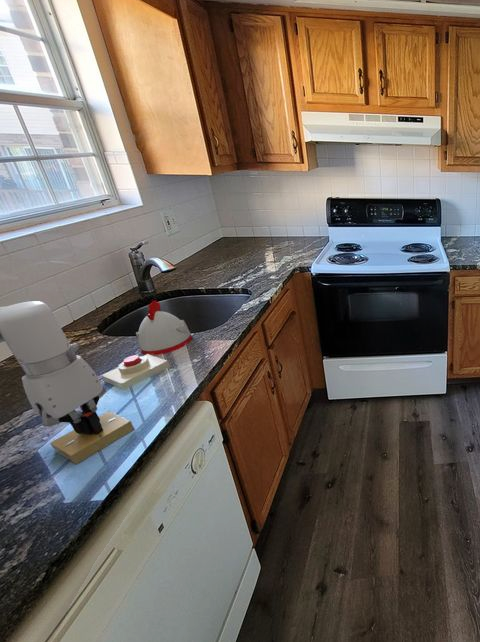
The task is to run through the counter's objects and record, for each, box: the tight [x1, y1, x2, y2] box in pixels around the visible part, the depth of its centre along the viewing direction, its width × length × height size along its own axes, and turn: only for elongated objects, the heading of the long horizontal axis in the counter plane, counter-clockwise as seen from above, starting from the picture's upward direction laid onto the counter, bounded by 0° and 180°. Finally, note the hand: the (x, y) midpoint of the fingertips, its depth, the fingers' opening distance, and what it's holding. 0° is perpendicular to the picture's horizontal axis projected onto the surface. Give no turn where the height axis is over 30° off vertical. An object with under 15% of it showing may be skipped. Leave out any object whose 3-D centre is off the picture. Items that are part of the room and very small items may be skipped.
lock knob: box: [75, 410, 103, 435], centre depth 81 cm, size 5×1×5 cm, turn 81°
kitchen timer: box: [135, 300, 193, 356], centre depth 118 cm, size 14×14×15 cm
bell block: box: [101, 354, 171, 391], centre depth 105 cm, size 12×10×4 cm
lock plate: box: [49, 410, 135, 465], centre depth 82 cm, size 11×9×3 cm
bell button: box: [122, 354, 141, 367], centre depth 104 cm, size 4×4×2 cm
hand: (90, 429), depth 82 cm, fingers closed
